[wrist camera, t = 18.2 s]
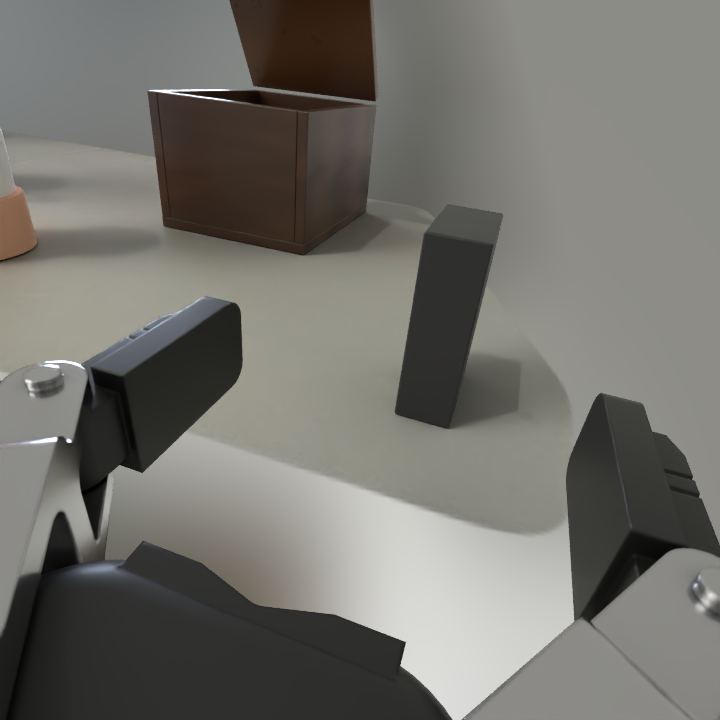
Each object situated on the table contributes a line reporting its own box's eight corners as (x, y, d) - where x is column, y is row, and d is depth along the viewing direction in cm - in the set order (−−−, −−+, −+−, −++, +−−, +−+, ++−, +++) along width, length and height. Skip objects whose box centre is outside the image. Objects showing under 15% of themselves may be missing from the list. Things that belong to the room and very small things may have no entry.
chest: (303, 255, 37) (308, 111, 31) (163, 225, 39) (146, 90, 34) (366, 211, 49) (376, 104, 44) (256, 191, 52) (254, 89, 47)
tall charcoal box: (464, 370, 24) (504, 211, 20) (448, 429, 20) (493, 244, 16) (419, 359, 25) (448, 202, 21) (394, 414, 21) (424, 231, 17)
